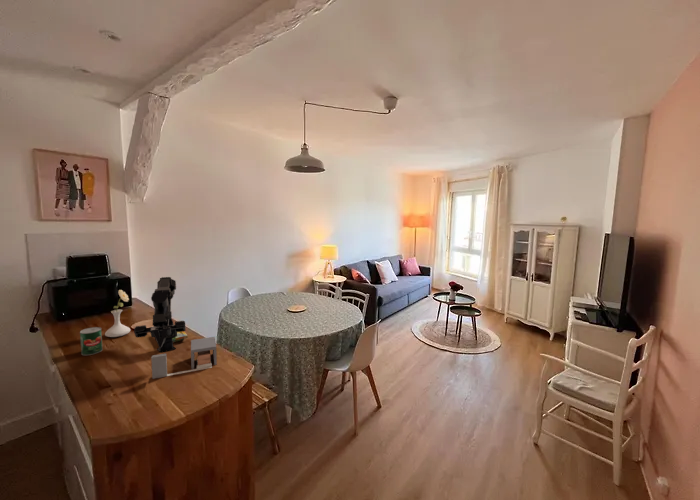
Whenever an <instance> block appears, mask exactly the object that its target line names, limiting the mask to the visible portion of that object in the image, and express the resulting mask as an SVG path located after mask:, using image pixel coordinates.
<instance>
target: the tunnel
mask: <svg viewBox="0 0 700 500" xmlns="http://www.w3.org/2000/svg"><path fill="white" fill-rule="evenodd" d="M207 350H210V351H212V355H213V357H212V358H213V366H217V364H218V363H217V361H218V357H217V355H218V354H217V353H218V352H217V342H216V336H211V337H204V338H203V337H202V338H195V339H190V358H191V359H190V361H191V363H190V365H191V366H190V367H191V370H193V369H195V353H198V352H201V351H207Z"/></svg>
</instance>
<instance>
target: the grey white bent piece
mask: <svg viewBox="0 0 700 500" xmlns="http://www.w3.org/2000/svg"><path fill="white" fill-rule="evenodd" d="M167 362H168V361H167V353H161V354H154V355H151V374H152V375H151V377H152V378H151V379H153V380H155V379H160V378H164V377H165V378H166V377H169V376H174V375H181V374H186V373H191V372H195V371H202V370H207V369H212V368H213V364H212V363H213V362H212V357H211V356H210V363H208V364H202V365H198V358H197V359H196V368H194V369H188V370H183V371H177V372H173V373H168V363H167Z"/></svg>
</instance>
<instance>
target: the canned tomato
mask: <svg viewBox="0 0 700 500" xmlns="http://www.w3.org/2000/svg"><path fill="white" fill-rule="evenodd" d="M102 334H103V333H102V327H100V326H94V327H87V328H84V329H81V330H80V331H79V336H80V338H79V339H80V354H81V355H82V356H91V355H95V354H99V353H101V352H102V351H103V336H102Z"/></svg>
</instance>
